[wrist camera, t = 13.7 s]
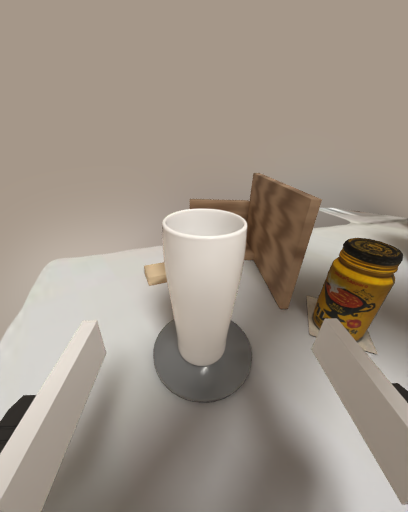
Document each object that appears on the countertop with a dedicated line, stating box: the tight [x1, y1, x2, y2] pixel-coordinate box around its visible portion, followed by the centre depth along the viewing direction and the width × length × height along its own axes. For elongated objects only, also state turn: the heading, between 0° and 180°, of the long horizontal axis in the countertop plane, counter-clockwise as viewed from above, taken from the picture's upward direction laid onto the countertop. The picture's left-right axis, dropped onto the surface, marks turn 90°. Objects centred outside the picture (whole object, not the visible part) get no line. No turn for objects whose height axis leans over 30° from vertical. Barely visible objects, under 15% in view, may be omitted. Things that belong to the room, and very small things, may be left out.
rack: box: [190, 173, 322, 309], centre depth 37 cm, size 24×15×16 cm, turn 3°
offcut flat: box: [144, 262, 167, 286], centre depth 37 cm, size 8×4×2 cm, turn 114°
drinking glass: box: [162, 209, 247, 366], centre depth 20 cm, size 7×7×15 cm
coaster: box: [154, 320, 252, 402], centre depth 23 cm, size 11×11×1 cm
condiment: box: [306, 238, 403, 354], centre depth 26 cm, size 7×8×12 cm
